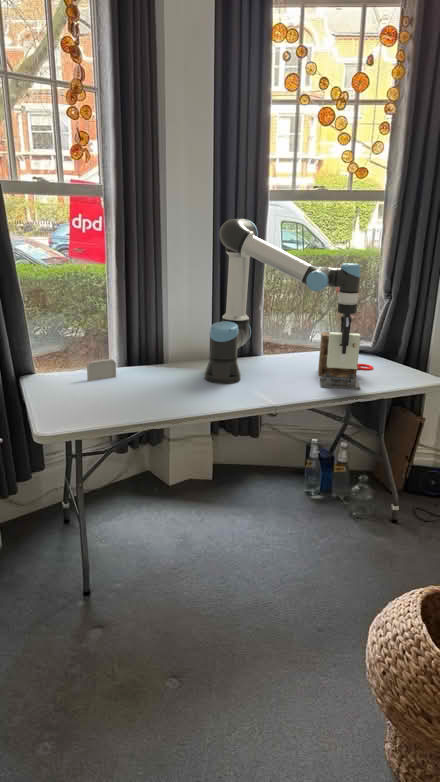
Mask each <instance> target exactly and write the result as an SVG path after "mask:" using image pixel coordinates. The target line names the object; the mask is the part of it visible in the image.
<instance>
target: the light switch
mask: <svg viewBox="0 0 440 782" xmlns="http://www.w3.org/2000/svg"><path fill="white" fill-rule="evenodd" d="M86 377H87V379H86V380H87V381H88V382H92V381H97V380H104V379H111V378H117V362H116V361H115V360H114V359H112V358H107V359H99V360H92V361H89V362H88V363H87V364H86Z"/></svg>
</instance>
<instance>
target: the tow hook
mask: <svg viewBox="0 0 440 782" xmlns="http://www.w3.org/2000/svg"><path fill="white" fill-rule="evenodd" d="M359 348H360V346H359ZM357 370H362V371H373V370H374V366H373V365H370V364H366V363H358V364H357Z"/></svg>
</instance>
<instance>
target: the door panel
mask: <svg viewBox="0 0 440 782" xmlns="http://www.w3.org/2000/svg"><path fill="white" fill-rule="evenodd" d="M329 332H330V333H329V344H328V355H327V368H345V369H357V363H358V364H359V355H358V354H360V347H359V344H361V334H360V333H355V332H353V333H352V332H350V334H349V345H348V348H347V358H346V362H344V361H339V359H340V348H341V346H340V344H342V333H340V332H337V331H335V332H333V331H329Z"/></svg>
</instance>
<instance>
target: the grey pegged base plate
mask: <svg viewBox="0 0 440 782" xmlns="http://www.w3.org/2000/svg"><path fill="white" fill-rule="evenodd" d="M319 386H320V388H326V389H327V388H328V389H343V390H357V391H361V389H362V388H361V386H360V382H359V380H357V378H354V374H349V378H348V379H338V378H332V377H331V376H330V373H327V372H325V376H324V377H319Z"/></svg>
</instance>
